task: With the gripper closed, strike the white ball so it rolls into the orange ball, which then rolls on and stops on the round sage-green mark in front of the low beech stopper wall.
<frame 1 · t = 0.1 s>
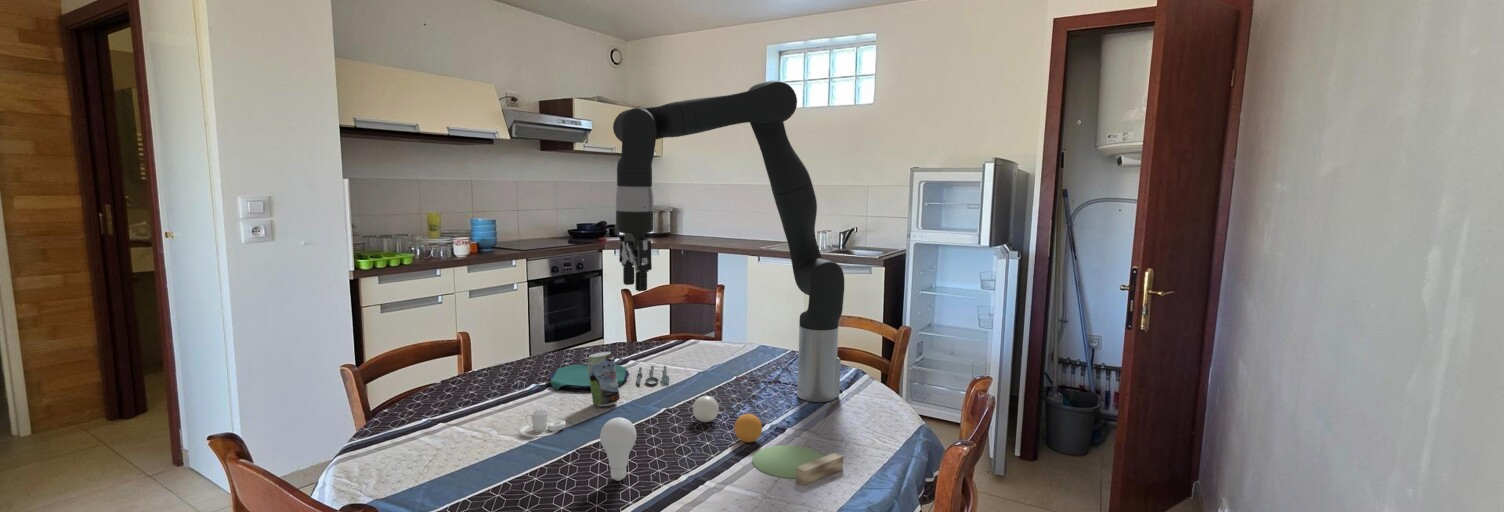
hand: (634, 287, 140), 29 cm above the table, tool pointing down, fingers open, 8 cm apart
green mark: (790, 461, 126), on the table
orange ball: (748, 428, 135), on the table
white ball: (705, 408, 145), on the table
cutlery set: (609, 382, 174), on the table
lightbulb: (618, 481, 117), on the table
stopper wall: (819, 475, 121), on the table
teacup and saucer: (545, 437, 137), on the table
beverage can: (603, 405, 155), on the table
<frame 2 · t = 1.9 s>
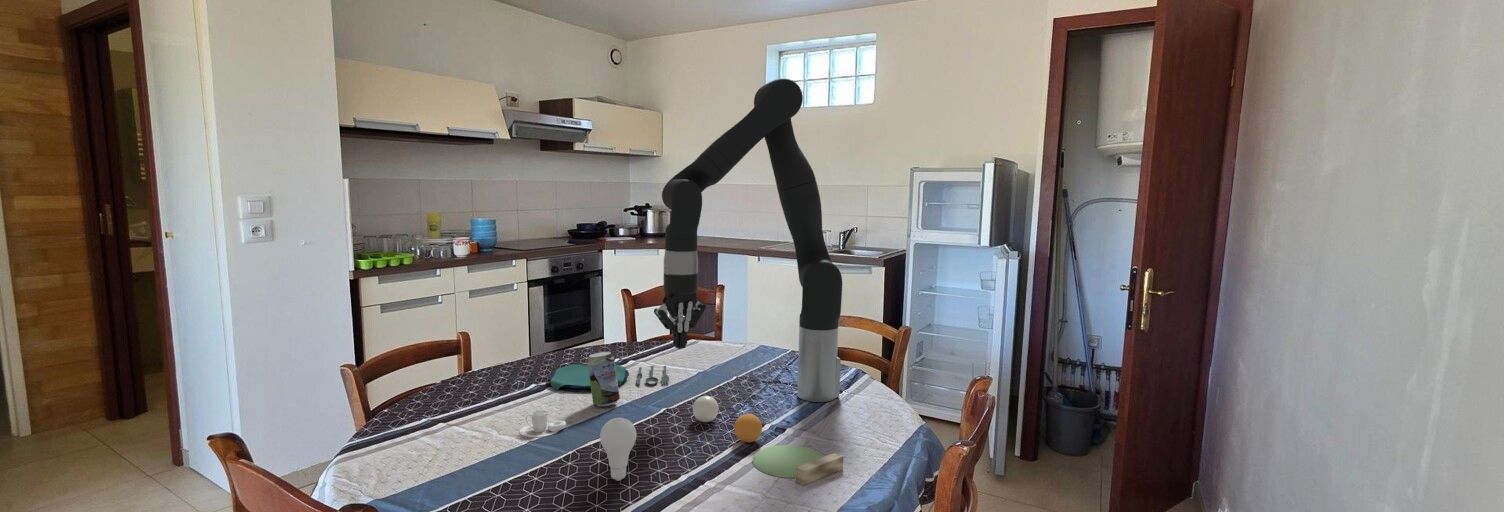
hand: (680, 347, 151), 14 cm above the table, tool pointing down, fingers closed
nothing on the table moved.
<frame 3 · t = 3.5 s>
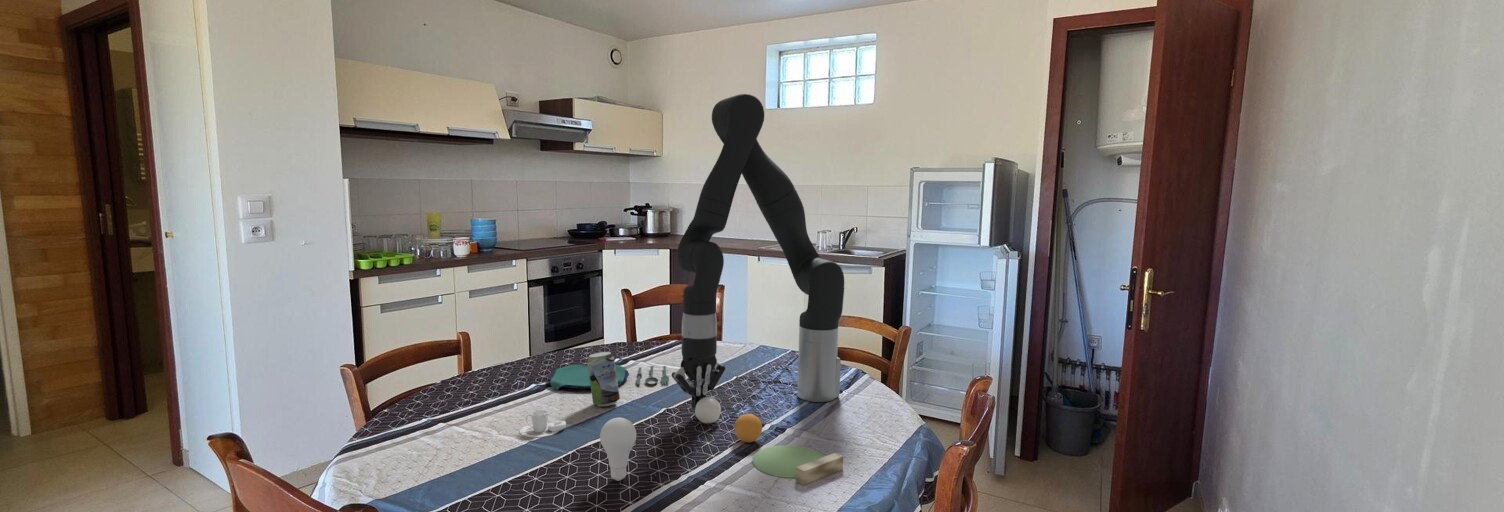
hand: (698, 410, 148), 1 cm above the table, tool pointing down, fingers closed
white ball: (708, 410, 145), on the table, touching gripper
everything else where it was.
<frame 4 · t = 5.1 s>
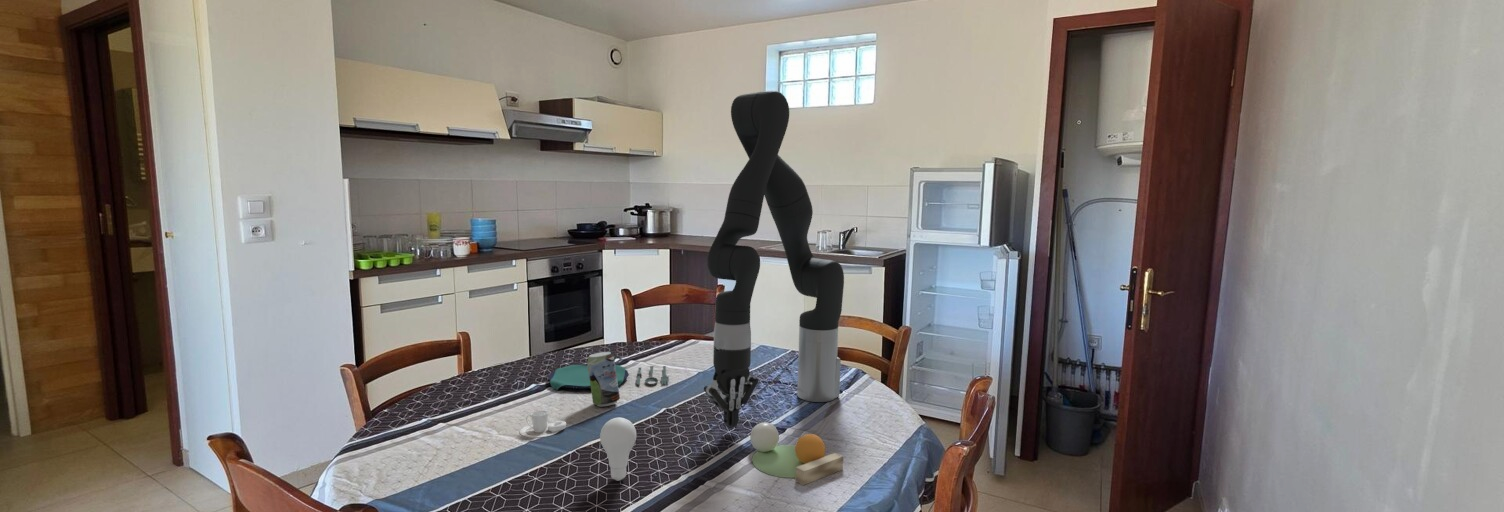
hand: (730, 426, 139), 2 cm above the table, tool pointing down, fingers closed
orange ball: (810, 449, 125), on the table
white ball: (764, 437, 130), on the table
everything else where it was.
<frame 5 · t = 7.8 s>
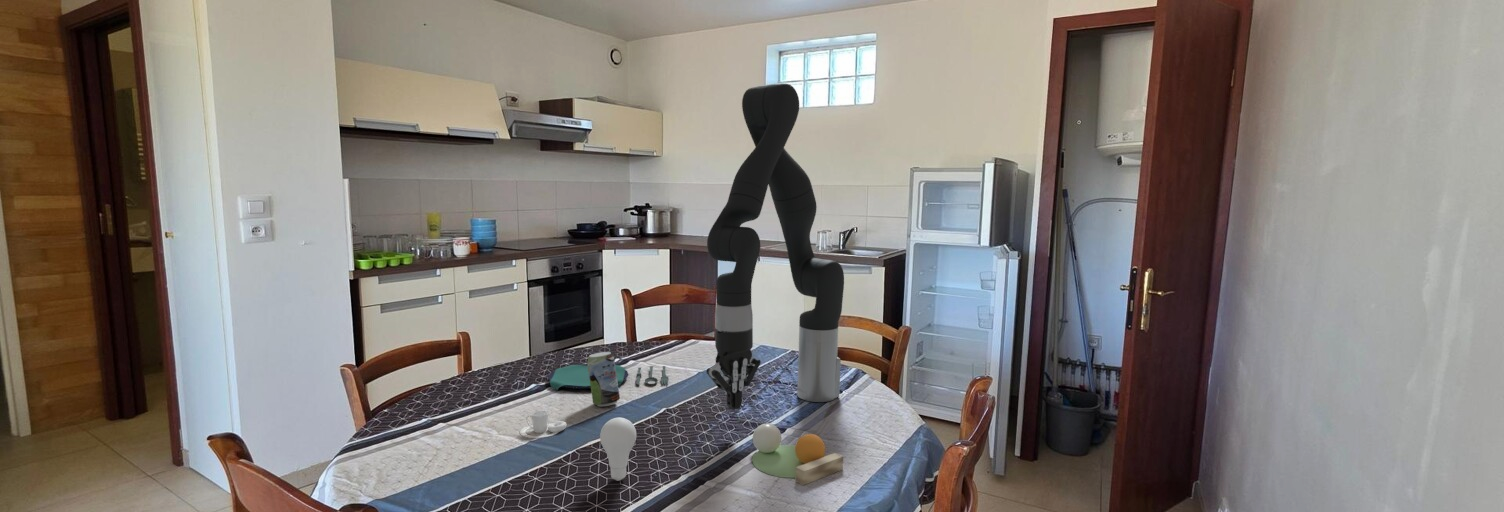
hand: (734, 408, 139), 5 cm above the table, tool pointing down, fingers closed
nothing on the table moved.
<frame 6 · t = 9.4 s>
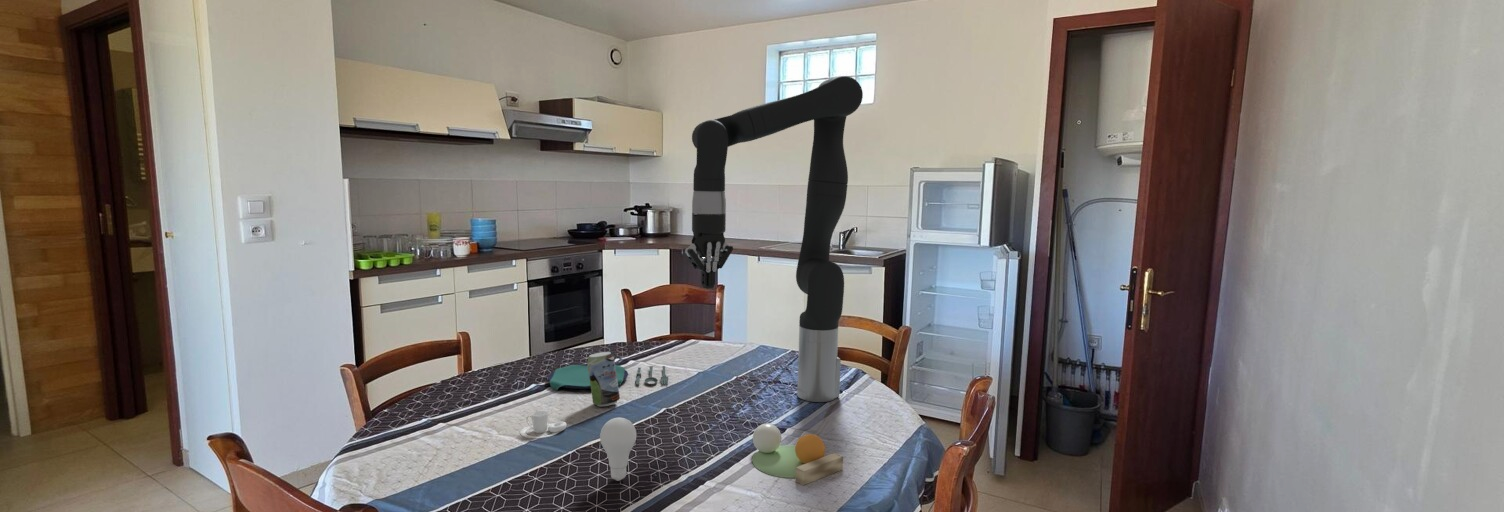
hand: (708, 288, 154), 27 cm above the table, tool pointing down, fingers closed
nothing on the table moved.
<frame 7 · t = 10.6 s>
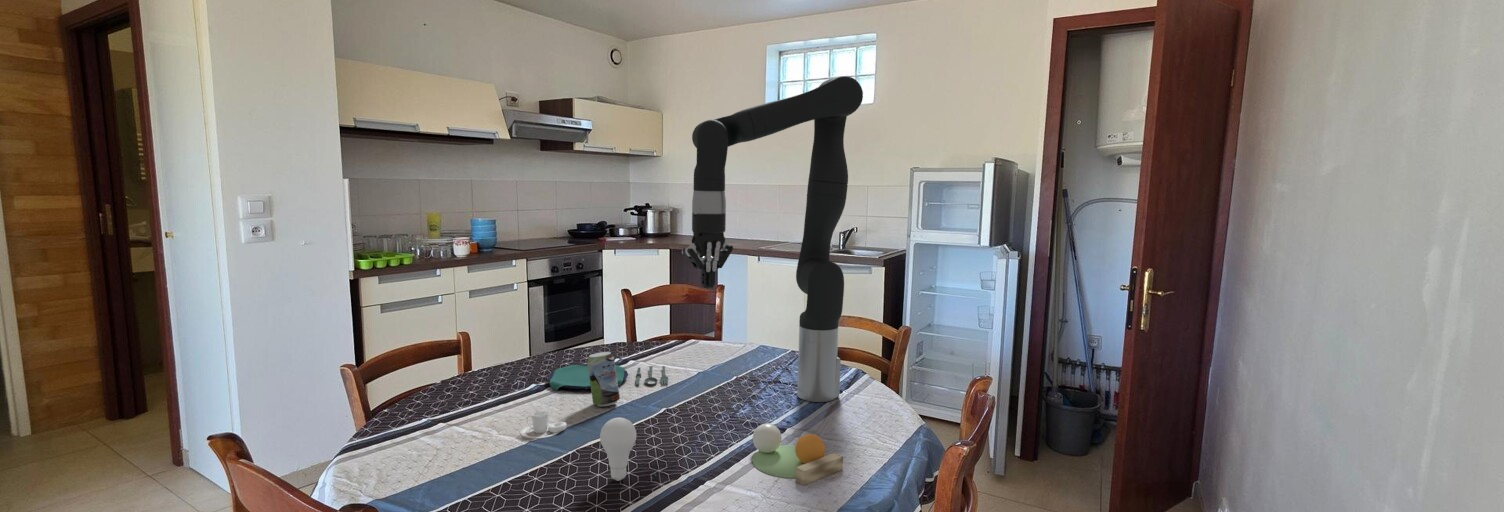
hand: (708, 287, 154), 27 cm above the table, tool pointing down, fingers closed
nothing on the table moved.
at the end: orange ball 3.7 cm from the green mark (horizontally); orange ball never touched the robot; white ball first touched orange ball at 3.8 s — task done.
